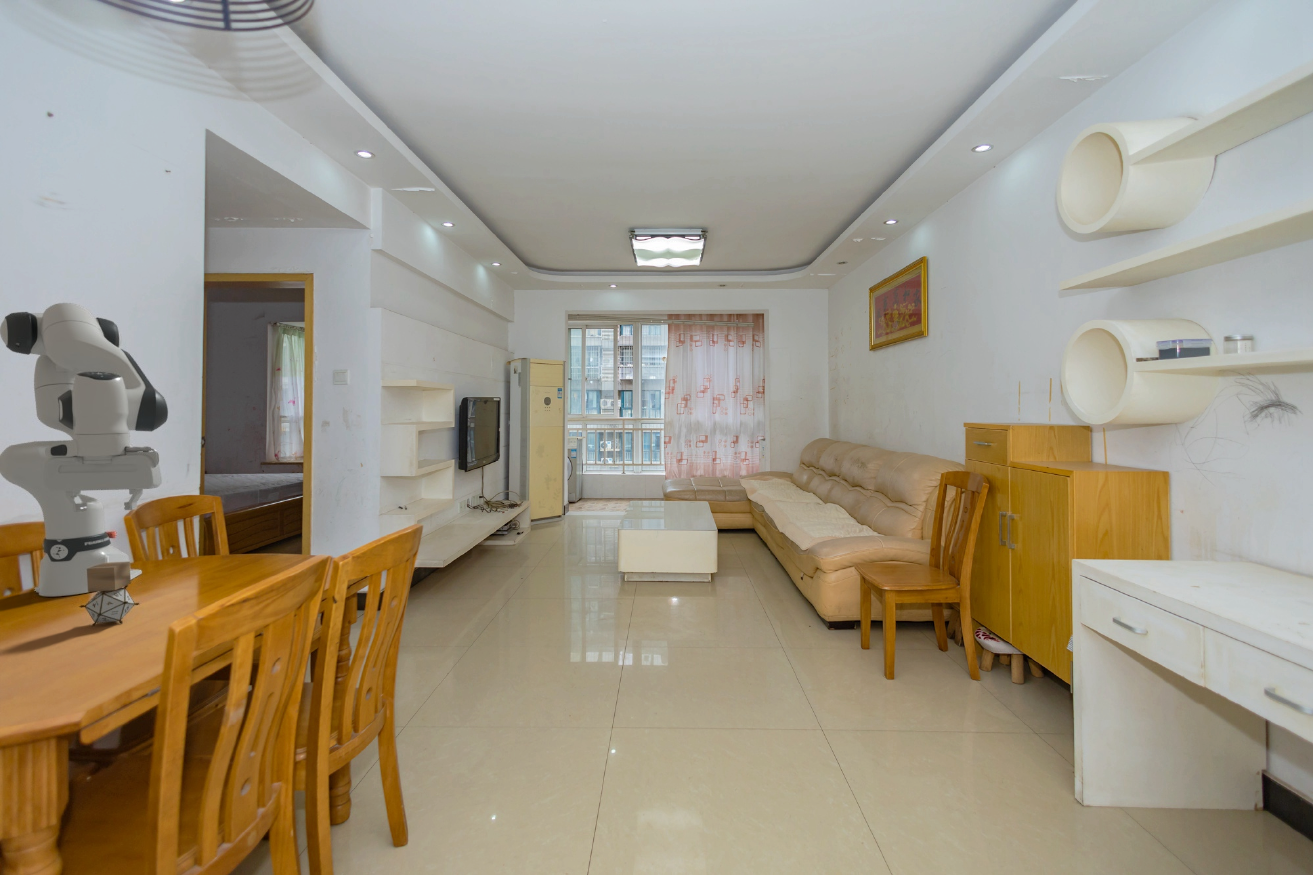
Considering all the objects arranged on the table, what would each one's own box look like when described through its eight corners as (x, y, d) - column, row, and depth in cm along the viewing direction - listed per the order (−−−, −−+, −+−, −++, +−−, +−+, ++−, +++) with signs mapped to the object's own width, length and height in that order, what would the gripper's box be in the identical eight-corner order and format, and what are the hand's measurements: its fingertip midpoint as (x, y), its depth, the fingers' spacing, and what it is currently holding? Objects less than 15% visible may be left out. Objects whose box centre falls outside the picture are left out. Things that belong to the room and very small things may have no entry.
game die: (111, 642, 128) (93, 615, 122) (82, 626, 129) (63, 598, 123) (153, 611, 135) (138, 584, 129) (125, 596, 136) (108, 568, 130)
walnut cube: (104, 585, 131) (103, 562, 131) (130, 583, 132) (129, 561, 132) (87, 591, 126) (86, 568, 126) (115, 590, 127) (114, 567, 127)
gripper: (166, 445, 133) (169, 506, 133) (59, 446, 128) (62, 509, 129) (148, 447, 126) (151, 511, 127) (35, 448, 122) (38, 514, 123)
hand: (105, 510), depth 128 cm, fingers open, 8 cm apart
